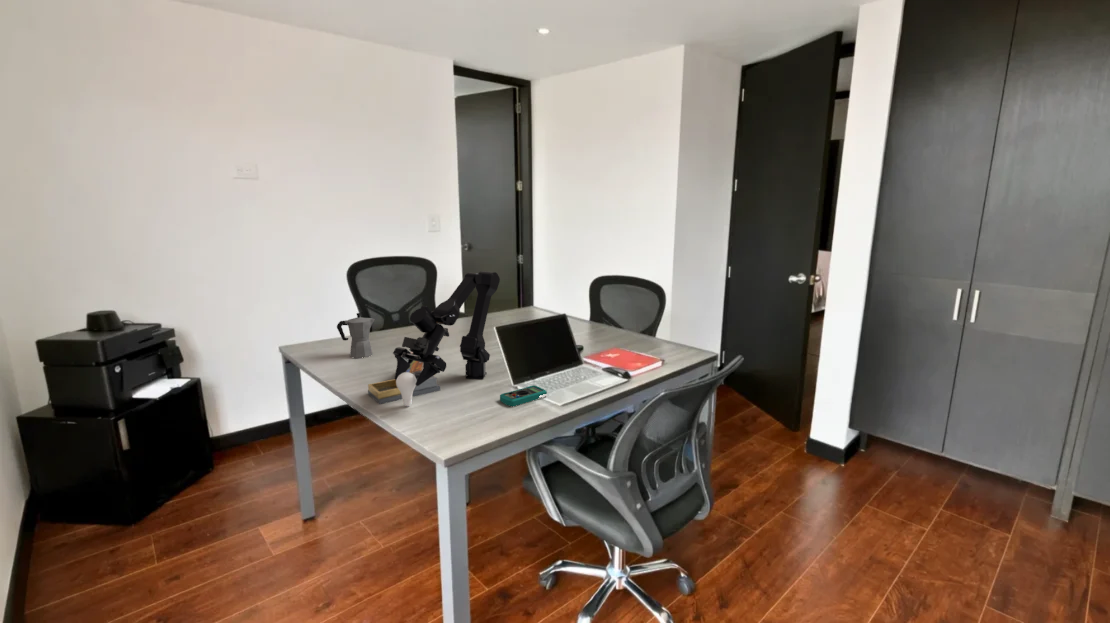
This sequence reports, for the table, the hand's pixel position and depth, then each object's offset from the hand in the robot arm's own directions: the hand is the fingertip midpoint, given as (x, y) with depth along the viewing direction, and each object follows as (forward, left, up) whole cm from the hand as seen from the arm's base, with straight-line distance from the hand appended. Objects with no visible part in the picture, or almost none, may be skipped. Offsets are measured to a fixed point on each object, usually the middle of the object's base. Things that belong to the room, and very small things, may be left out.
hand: (406, 382), depth 157 cm
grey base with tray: (+5, -12, -8) cm, 15 cm away
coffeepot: (+39, -50, -8) cm, 64 cm away
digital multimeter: (-35, -10, -8) cm, 38 cm away
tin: (+9, -30, -8) cm, 32 cm away
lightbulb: (0, 0, -8) cm, 8 cm away
